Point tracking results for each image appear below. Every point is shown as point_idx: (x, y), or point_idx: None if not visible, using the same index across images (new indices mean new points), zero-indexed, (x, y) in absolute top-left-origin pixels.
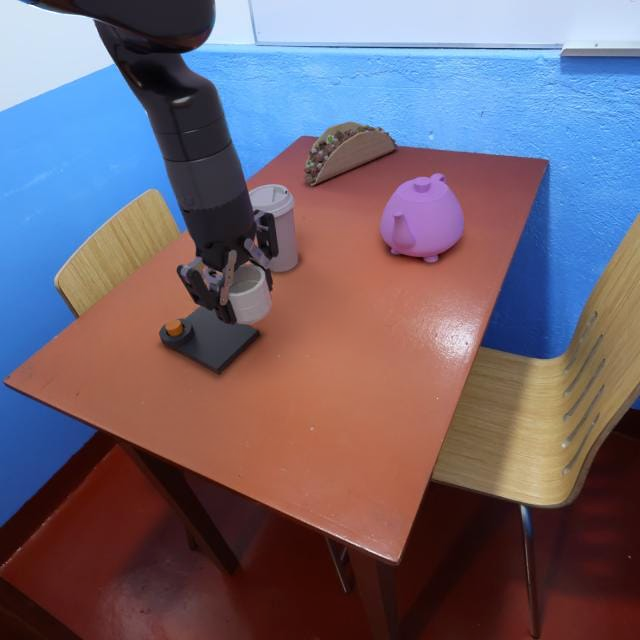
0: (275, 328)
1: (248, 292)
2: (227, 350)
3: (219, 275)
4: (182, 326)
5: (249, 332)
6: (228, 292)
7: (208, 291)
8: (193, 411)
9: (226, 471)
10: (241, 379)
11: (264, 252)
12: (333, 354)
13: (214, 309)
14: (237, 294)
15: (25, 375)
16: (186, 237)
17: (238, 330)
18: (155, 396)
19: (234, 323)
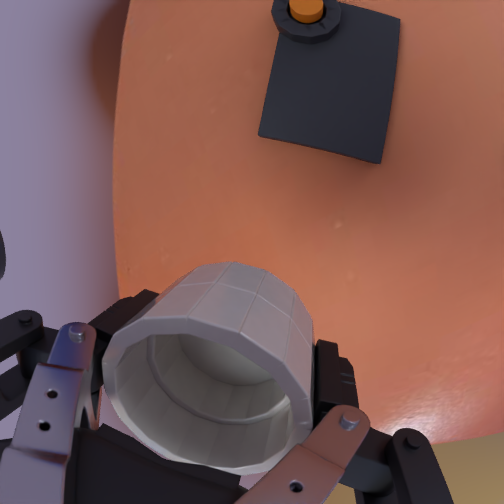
0: (401, 186)
1: (152, 448)
2: (308, 128)
3: (84, 418)
4: (317, 17)
5: (367, 148)
6: (99, 412)
7: (9, 410)
8: (179, 143)
9: (125, 251)
10: (265, 183)
11: (360, 478)
12: (362, 315)
13: (98, 316)
14: (126, 422)
15: None
16: None
17: (365, 122)
18: (184, 65)
19: None
